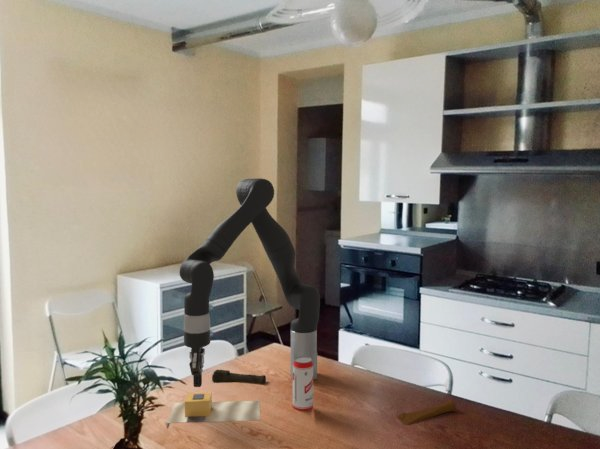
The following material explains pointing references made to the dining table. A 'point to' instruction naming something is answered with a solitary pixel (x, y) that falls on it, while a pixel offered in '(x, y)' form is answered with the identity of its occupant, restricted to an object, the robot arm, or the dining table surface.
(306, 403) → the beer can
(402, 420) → the primitive tool
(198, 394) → the yellow block
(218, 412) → the board
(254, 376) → the black flashlight
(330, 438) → the dining table surface
